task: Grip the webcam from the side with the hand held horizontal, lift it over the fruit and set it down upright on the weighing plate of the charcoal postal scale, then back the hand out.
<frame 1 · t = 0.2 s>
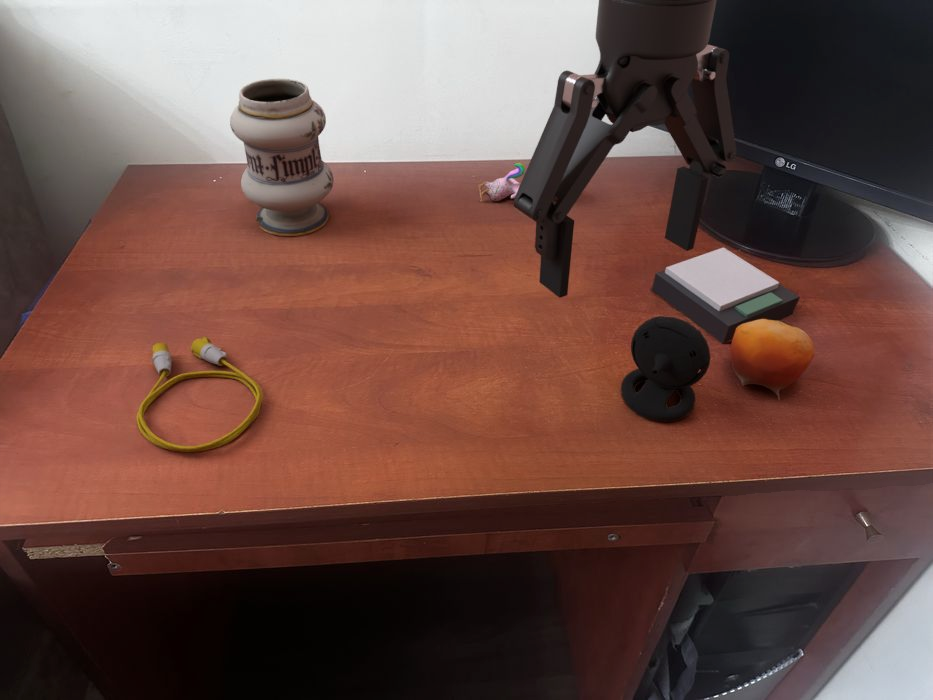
hand: (618, 265, 59), 18 cm above the table, tool pointing down, fingers open, 13 cm apart
scale: (720, 301, 87), on the table
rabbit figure: (527, 199, 106), on the table
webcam: (656, 399, 74), on the table
extension cord: (202, 399, 71), on the table
fruit: (760, 376, 77), on the table
apothecary jar: (292, 219, 99), on the table
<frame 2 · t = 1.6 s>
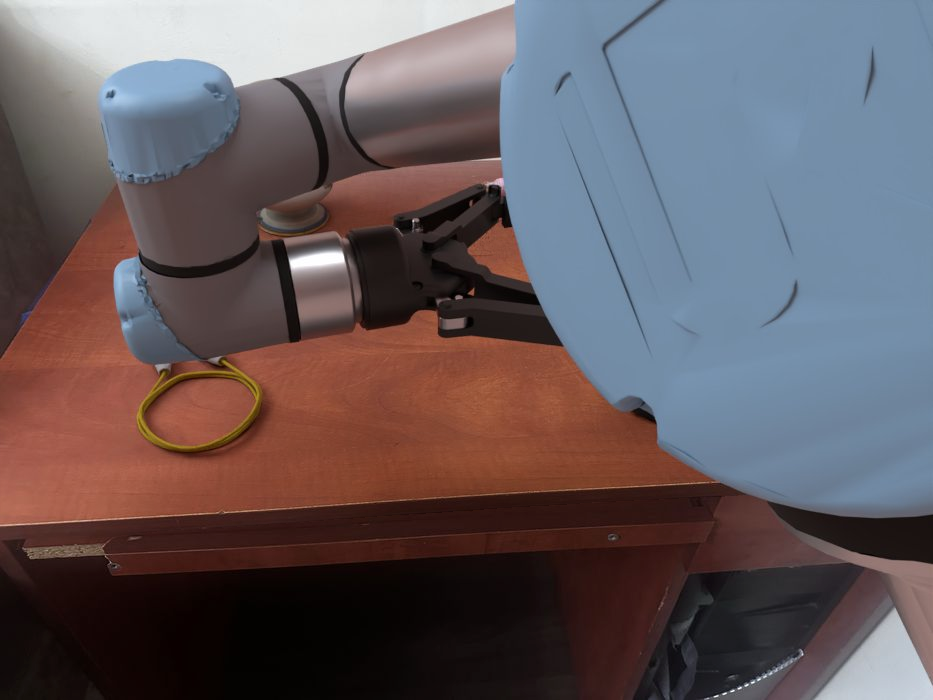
hand: (608, 242, 58), 20 cm above the table, tool horizontal, fingers open, 13 cm apart
nothing on the table moved.
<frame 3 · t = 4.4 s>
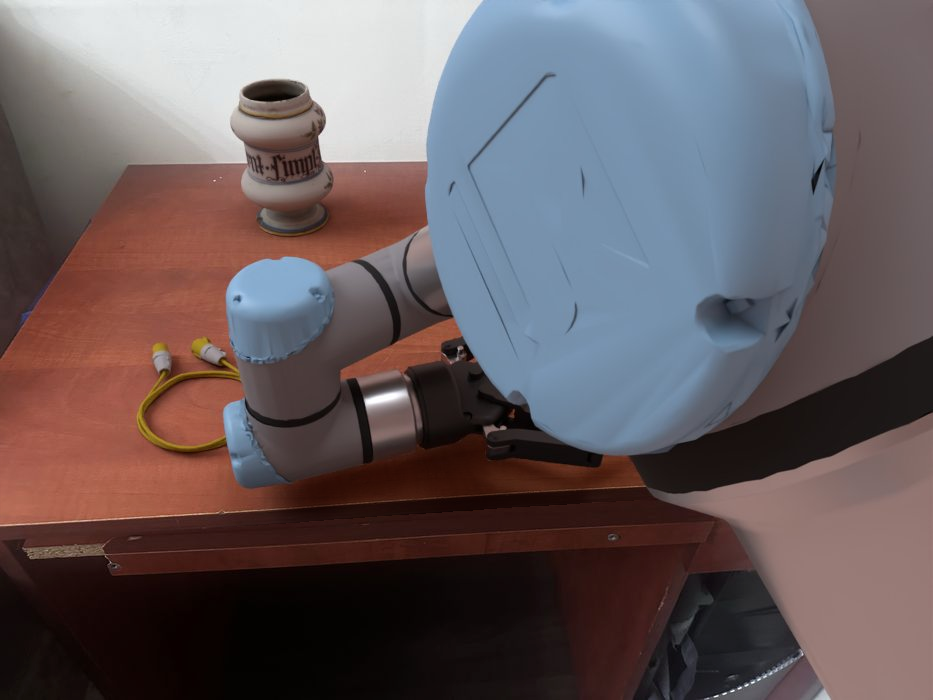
hand: (623, 363, 68), 6 cm above the table, tool horizontal, fingers open, 13 cm apart
nothing on the table moved.
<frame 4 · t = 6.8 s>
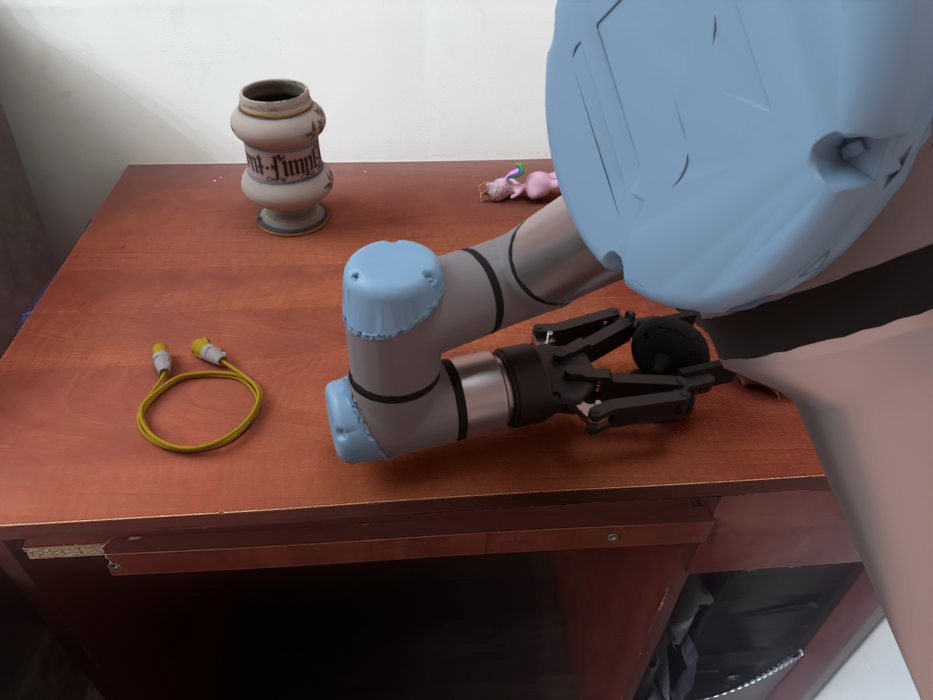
hand: (712, 344, 71), 6 cm above the table, tool horizontal, fingers closed on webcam, 7 cm apart
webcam: (656, 399, 73), on the table, touching gripper
everything else where it was.
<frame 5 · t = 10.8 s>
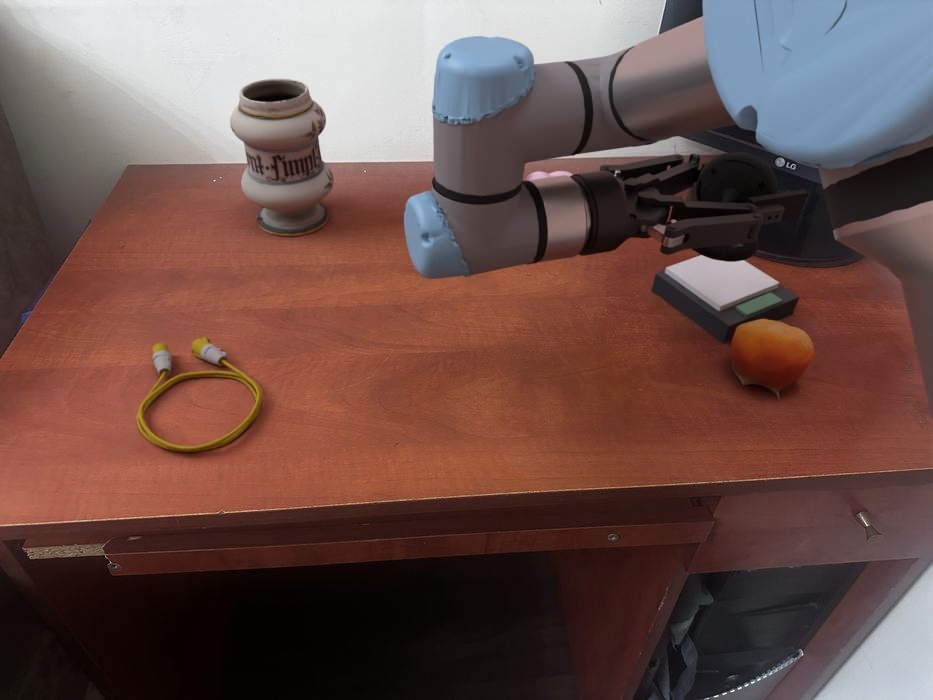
hand: (776, 186, 72), 18 cm above the table, tool horizontal, fingers closed on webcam, 7 cm apart
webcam: (718, 245, 74), point 12 cm above the table, touching gripper
everything else where it was.
when the fingers open (9 cm above the table, at t = 14.7 s): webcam stays where it is, resting on scale.
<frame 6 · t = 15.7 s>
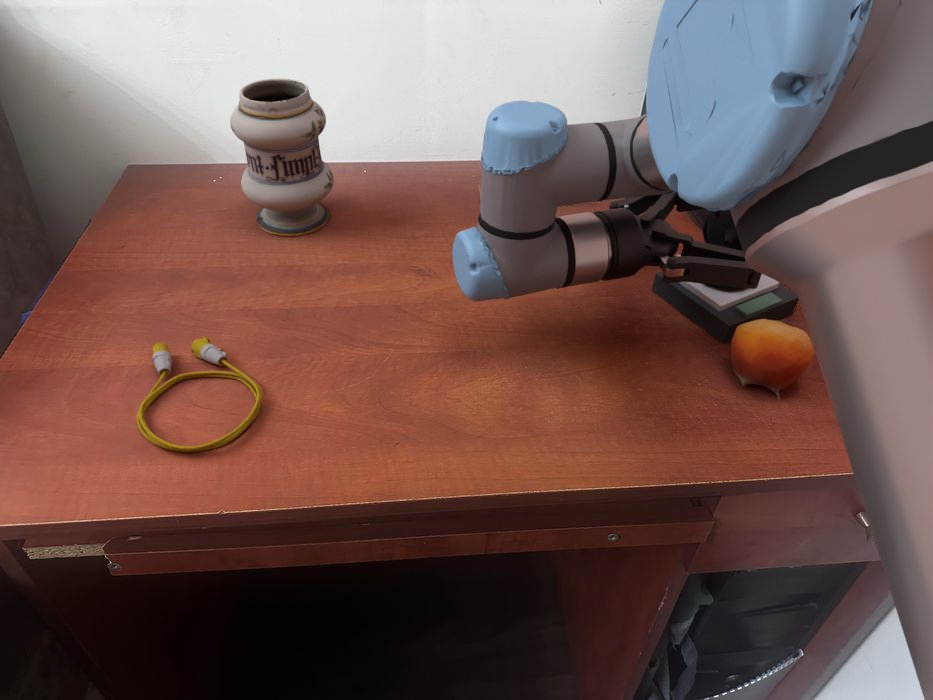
hand: (760, 221, 82), 10 cm above the table, tool horizontal, fingers open, 13 cm apart
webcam: (721, 276, 86), point 3 cm above the table, touching scale
everything else where it was.
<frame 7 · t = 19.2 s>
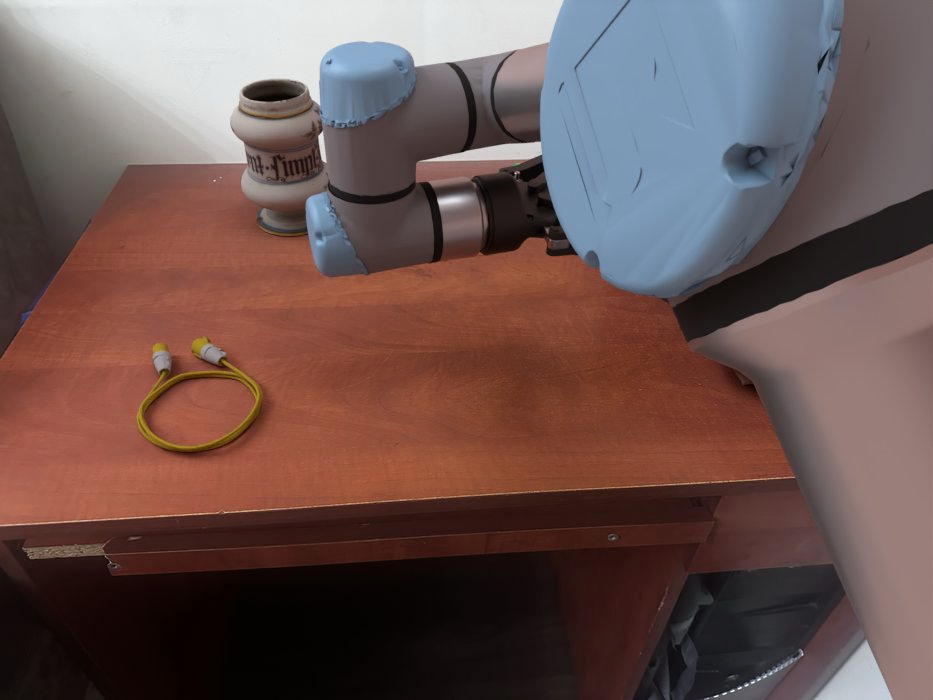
hand: (669, 189, 73), 17 cm above the table, tool horizontal, fingers open, 13 cm apart
nothing on the table moved.
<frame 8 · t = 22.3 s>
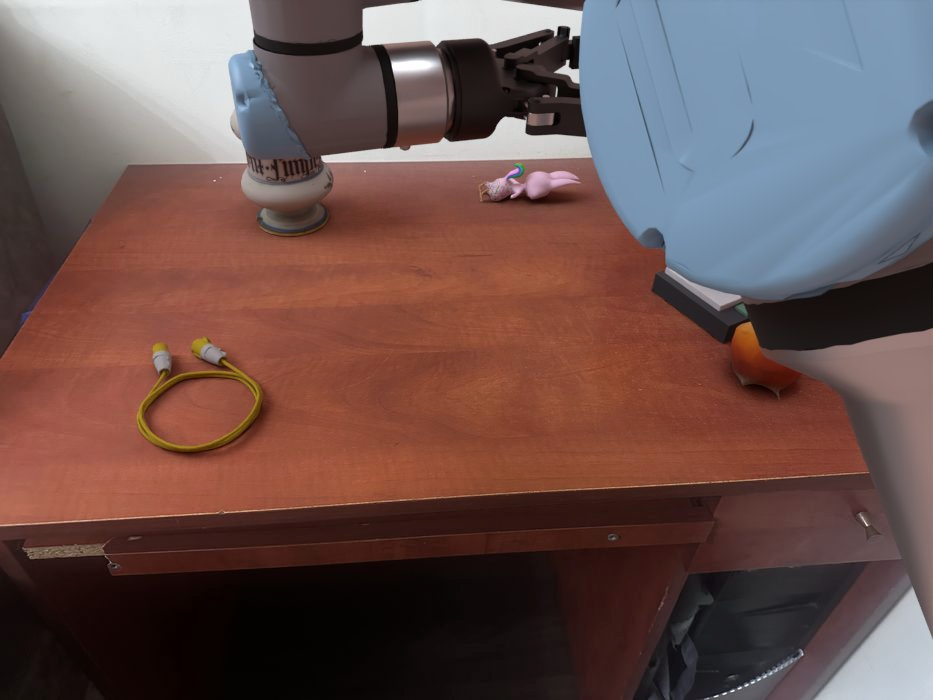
hand: (674, 72, 61), 30 cm above the table, tool horizontal, fingers open, 13 cm apart
nothing on the table moved.
at the end: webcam inside the target area on the scale (0.0 cm from its centre), point 3.2 cm above the scale's base; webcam tilted 0°; the gripper is holding nothing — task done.
